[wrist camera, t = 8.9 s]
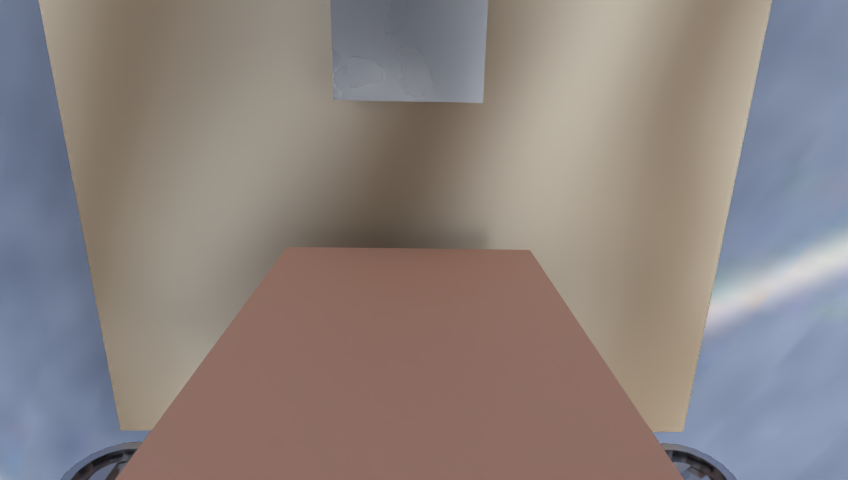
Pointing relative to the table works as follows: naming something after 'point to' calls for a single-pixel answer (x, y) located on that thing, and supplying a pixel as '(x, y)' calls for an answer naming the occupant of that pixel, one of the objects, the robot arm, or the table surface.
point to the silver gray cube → (409, 50)
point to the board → (403, 168)
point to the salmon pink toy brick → (402, 379)
